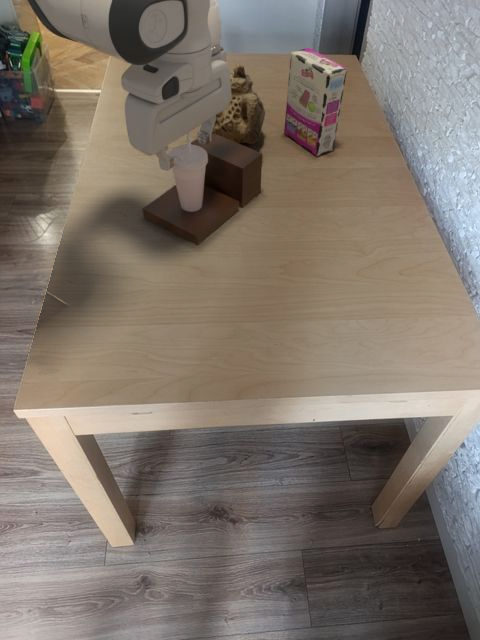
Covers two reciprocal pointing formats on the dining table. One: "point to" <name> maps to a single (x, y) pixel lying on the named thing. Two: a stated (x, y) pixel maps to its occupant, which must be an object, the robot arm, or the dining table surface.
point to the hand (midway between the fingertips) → (186, 154)
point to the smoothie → (189, 174)
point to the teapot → (241, 110)
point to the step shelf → (212, 191)
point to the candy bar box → (314, 100)
